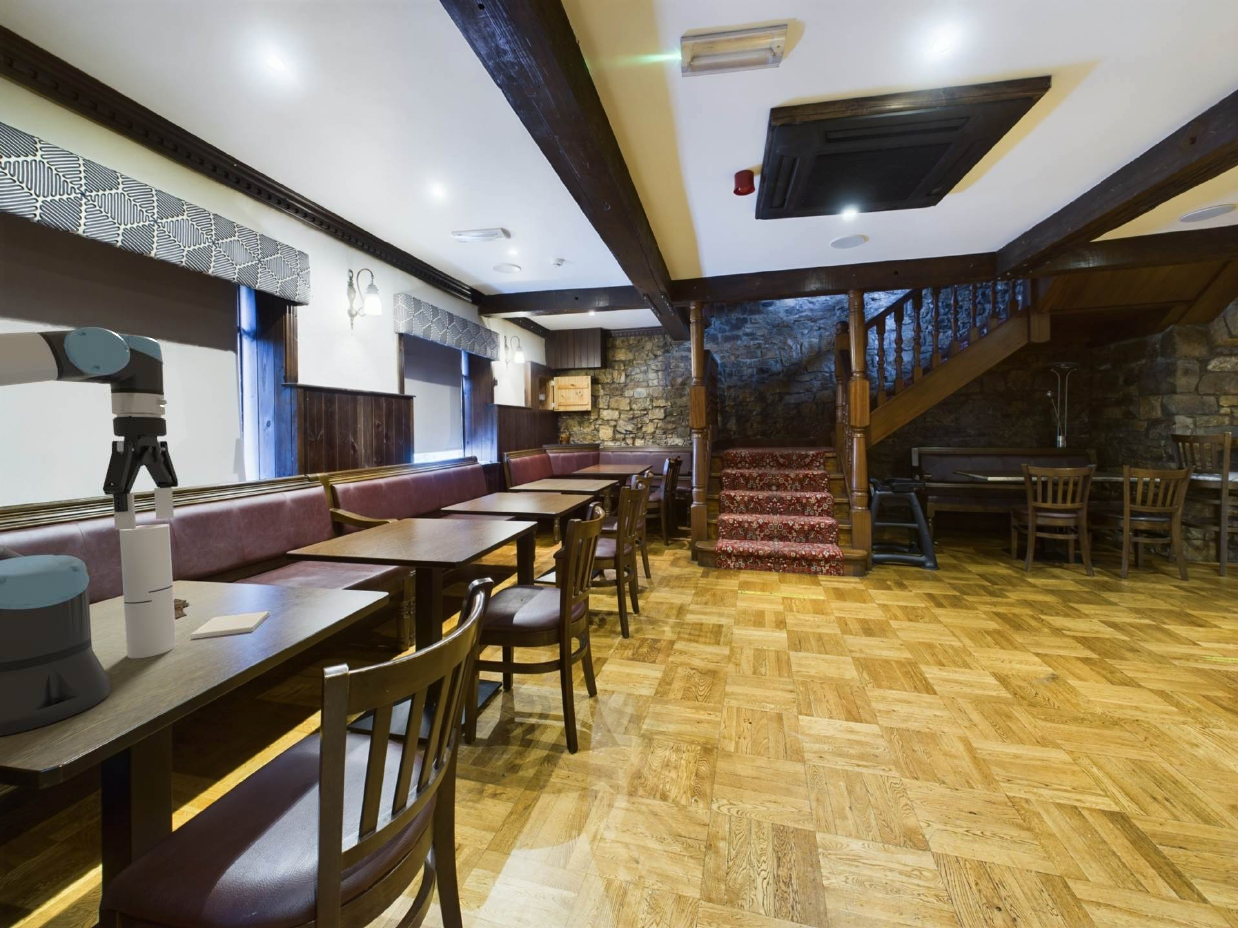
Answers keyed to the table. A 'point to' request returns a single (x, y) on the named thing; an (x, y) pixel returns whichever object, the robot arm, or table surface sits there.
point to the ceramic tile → (230, 625)
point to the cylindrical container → (148, 590)
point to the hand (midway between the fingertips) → (146, 523)
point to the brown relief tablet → (179, 607)
